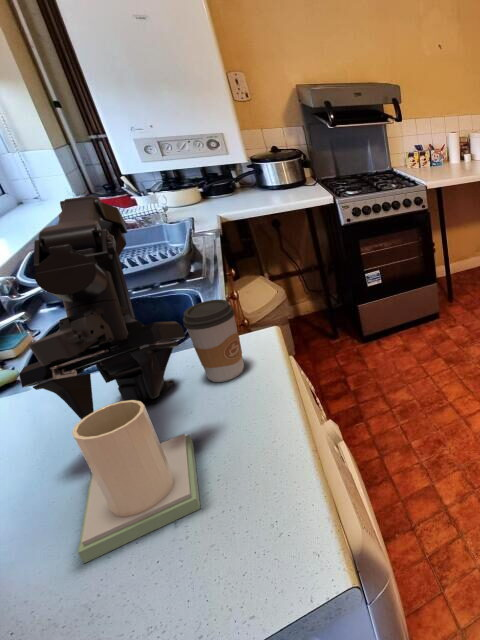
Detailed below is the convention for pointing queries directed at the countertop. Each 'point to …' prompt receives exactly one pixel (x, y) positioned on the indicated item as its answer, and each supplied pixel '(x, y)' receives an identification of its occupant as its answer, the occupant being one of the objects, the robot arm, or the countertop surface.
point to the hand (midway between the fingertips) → (122, 409)
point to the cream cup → (125, 457)
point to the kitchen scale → (115, 531)
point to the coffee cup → (215, 339)
